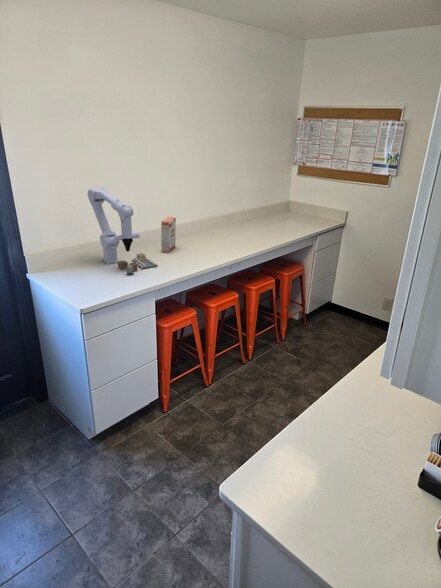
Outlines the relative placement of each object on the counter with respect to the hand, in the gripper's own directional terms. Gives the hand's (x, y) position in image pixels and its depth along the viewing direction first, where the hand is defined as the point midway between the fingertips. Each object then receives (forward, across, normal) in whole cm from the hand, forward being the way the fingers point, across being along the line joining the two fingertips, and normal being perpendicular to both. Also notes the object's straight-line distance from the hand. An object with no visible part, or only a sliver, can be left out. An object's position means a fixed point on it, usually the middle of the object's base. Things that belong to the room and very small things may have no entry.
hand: (127, 251), depth 230 cm
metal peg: (+10, -3, -10) cm, 15 cm away
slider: (+9, +11, +7) cm, 16 cm away
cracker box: (+11, +37, +21) cm, 44 cm away
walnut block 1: (+10, -3, +1) cm, 11 cm away
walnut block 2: (+10, +1, -5) cm, 12 cm away
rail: (+10, +11, +2) cm, 15 cm away
